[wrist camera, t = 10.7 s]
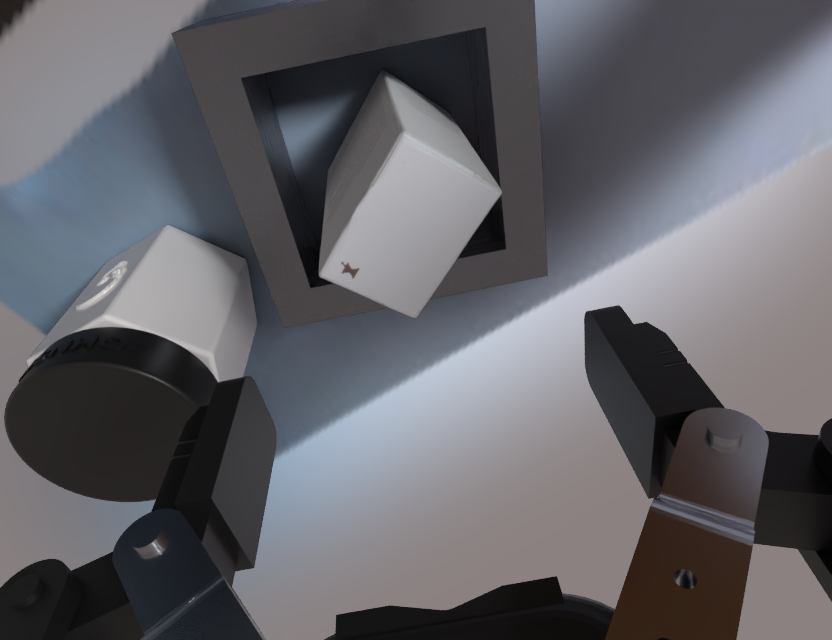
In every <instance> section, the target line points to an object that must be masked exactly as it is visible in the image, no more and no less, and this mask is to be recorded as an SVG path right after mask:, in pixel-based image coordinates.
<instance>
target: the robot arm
mask: <svg viewBox="0 0 832 640" xmlns="http://www.w3.org/2000/svg"><path fill="white" fill-rule="evenodd" d="M584 324H585V367H586V373H587V377H588V381H589V384H590V386H591V388H592V390H593V392H594V394H595V396H596V398H597V400H598V402H599V404H600V406H601V408H602V410H603V412H604V413H605V415H606V417H607V419H608V421H609V423H610V425H611V427H612V429H613V431H614V433H615V435H616V437H617V439H618V441H619V443H620V444H621V446H622V448H623V450H624V452H625V454H626V456H627V458H628V460H629V462H630V464H631V466H632V467H633V470H634V471H635V473H636V475H637V477H638V479H639V481H640V483H641V485H642V487H643V488H644V491H645V493H646V495H647V497H648V498H654V499H653V501H652V504H651V506H650V509H649V512H648V515H647V518H646V520H645V524H644V527H643V529H642V532H641V535H640V538H639V541H638V544H637V547H636V550H635V553H634V556H633V559H632V562H631V565H630V567H629V571H628V573H627V576H626V579H625V582H624V585H623V588H622V591H621V594H620V597H619V600H618V603H617V606H616V609H614V608H611V607H609V606H607V605H605V604H603V603H601V602H598V601H595V600H592V599H589V598H586V597H581V596H576V595H571V594H562V592H561V589H560V585H559V582H558V579H557V577H550V578H545V579H538V580H533V581H527V582H521V583H516V584H510V585H505V586H501V587H499V588H496V589H494V590H492V591H490V592H488V593H485V594H484V595H481V596H479V597H477V598H475V599H473V600H470V601H468V602H466V603H464V604H462V605H459V606H457V607H455V608H453V609H450V610H432V609H421V608H411V607H400V606H399V607H398V606H385V607H379V608H373V609H367V610H363V611H356V612H350V613H345V614H339V615H336V633H335V634H334V635H332V636H330V637H328V638H326V639H325V640H736V638H737V632H738V627H739V621H740V615H741V610H742V604H743V598H744V592H745V587H746V581H747V576H748V570H749V564H750V559H751V553H752V547H753V543H754V544H762V545H770V546H778V547H787V548H796V549H798V550H799V552H800V553H801V555H802V556H803V558H804V560H805V561H806V563H807V564H808V566H809V567H810V569H811V570H812V572H813V573H814V575H815V576H816V578H817V580H818V581H819V583H820V584H821V586H822V587H823V589H824V590H825V592H826V593H827V595H828V596H829V598H830V599H831V601H832V419H830V420H828V421H827V422H826V423H825V424H824V425H823V426H822V428H821V431H820V434H819V435H805V434H791V433H778V432H770V431H765V430H764V429H763V428H762V426H760V424H759V423H757V422H756V421H755V420H753V419H752V418H750V417H749V416H747V415H745V414H743V413H740V412H738V411H735V410H731V409H726V408H724V406H723V405H722V404H721V403H720V401H719V400H718V399H717V398H716V396H715V395H714V394H713V392H712V391H711V390H710V389H709V387H708V386H707V385H706V384H705V382H704V381H703V380H702V378H701V377H700V376H699V375H698V373H697V372H696V371H695V370H694V368H693V367H692V366H691V365H690V364H688V363H687V360H686V358H685V357H684V356H683V354H682V353H681V352H680V351H678V348H677V347H676V346H675V344H674V343H673V342H672V340H671V339H670V338H669V337H668V335H667V334H666V333H664V332H663V331H661V330H659V329H658V328H656V327H654V326H652V325H651V324H649V323H647V322H644V323H639V324H633V323H632V321H631V320H630V318H629V317H628V316H627V314H626V313H625V312H624V310H623V309H622V308H621V307H620V306H613V307H607V308H603V309H598V310H593V311H587V312H586V313H585V319H584ZM178 442H179V445H177V447H176V449H175V452H174V454H173V460H171V462H170V465H169V467H168V470H167V473H166V475H165V478H164V480H163V483H162V486H161V488H160V491H159V493H158V496H157V499H156V501H155V504H154V506H153V509H152V512H150V513H148V514H146V515H144V516H142V517H141V518H139V519H138V520H136V521H135V522H134V523H132V524H131V525H130V526H129V527H128V528H127V529H126V530H125V531H124V532H123V534H122V535H121V536H120V538H119V540H118V541H117V543H116V545H115V547H114V550H113V552H111V553H109V554H107V555H105V556H103V557H101V558H98V559H96V560H94V561H92V562H90V563H88V564H85V565H83V566H81V567H79V568H77V569H74V570H72V571H71V570H70V569H69V568H68V567H67V566H66V565H65V564H64V563H63V562H62V561H60V560H56V559H47V560H42V561H39V562H36V563H33V564H31V565H29V566H27V567H26V568H24V569H22V570H21V571H19V572H18V573H16V574H15V575H14V576H13V577H11V578H10V579H9V580H8V581H7V582H6V583H5V584H4V585H3V586H2V587H1V588H0V640H266V639H265V637H264V636H263V634H262V633H261V631H260V629H259V628H258V626H257V625H256V623H255V622H254V620H253V619H252V617H251V616H250V614H249V613H248V611H247V610H246V608H245V606H244V605H243V603H242V602H241V600H240V599H239V597H238V596H237V594H236V592H235V591H234V589H233V588H232V584H233V579H234V574H235V571H240V570H245V569H251V568H254V565H255V559H256V553H257V548H258V543H259V537H260V532H261V527H262V521H263V516H264V510H265V505H266V499H267V494H268V488H269V483H270V477H271V472H272V466H273V461H274V455H275V450H276V431H275V426H274V423H273V420H272V418H271V416H270V414H269V411H268V409H267V407H266V405H265V403H264V400H263V398H262V396H261V394H260V392H259V390H258V387H257V385H256V383H255V381H254V380H253V378H252V377H250V376H246V377H241V378H236V379H231V380H226V381H220V382H218V383H217V384H216V386H215V389H214V392H213V394H212V397H211V400H210V403H209V405H207V406H201V407H199V408H198V409H197V411H196V412H195V413H194V414H193V415H192V417H191V418H190V419H189V420H188V421H187V422H186V424H185V426H184V428H183V431H182V434H181V436H180V439H179V441H178ZM657 497H658V498H657Z"/></svg>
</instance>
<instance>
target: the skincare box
mask: <svg viewBox="0 0 832 640" xmlns="http://www.w3.org/2000/svg"><path fill="white" fill-rule="evenodd" d="M501 194H502V191H501V189H500V187H499V186H498V184H497V182H496V181H495V180H494V178H493V177H492V175H491V174H490V172H489V171H488V169H487V168H486V166H485V165H484V163H483V162H482V160H481V159H480V157H479V156H478V155H477V153H476V152H475V150H474V149H473V147H472V146H471V144H470V143H469V141H468V140H467V138H466V137H465V135H464V134H463V132H462V131H461V129H460V128H459V126H458V125H457V123H456V122H455V120H454V119H453V117H452V116H451V114H450V113H449V112H448V111H446V110H445V109H443V108H442V107H440V106H439V105H437V104H435V103H434V102H432V101H431V100H429V99H428V98H426V97H425V96H423V95H422V94H420V93H419V92H417V91H416V90H414V89H413V88H411V87H410V86H408V85H407V84H405V83H404V82H402V81H401V80H399V79H397V78H396V77H394V76H393V75H391V74H390V73H388V72H387V71H384V70H382V71H380V73H379V75H378V77H377V79H376V80H375V82H374V84H373V86H372V88H371V90H370V92H369V94H368V95H367V97H366V99H365V101H364V103H363V105H362V107H361V109H360V111H359V113H358V114H357V116H356V118H355V120H354V122H353V124H352V126H351V128H350V130H349V131H348V133H347V135H346V137H345V139H344V141H343V143H342V145H341V147H340V149H339V150H338V152H337V154H336V156H335V158H334V160H333V162H332V164H331V166H330V167H329V169H328V176H327V186H326V197H325V209H324V220H323V229H322V240H321V249H320V259H319V277H320V278H323V279H325V280H327V281H330V282H332V283H334V284H337V285H339V286H341V287H344V288H346V289H348V290H351V291H353V292H355V293H358V294H360V295H362V296H365V297H367V298H369V299H371V300H373V301H376V302H378V303H380V304H382V305H384V306H386V307H389V308H391V309H393V310H395V311H398V312H400V313H402V314H405V315H407V316H409V317H412V318H416V317H417V316H418V315H419V313H420V312H421V310H422V309H423V307H424V306H425V305H426V303H427V302H428V300H429V299H430V297H431V296H432V294H433V293H434V292H435V290H436V289H437V287H438V286H439V284H440V283H441V281H442V280H443V279H444V277H445V276H446V274H447V273H448V271H449V270H450V268H451V267H452V265H453V264H454V262H455V261H456V259H457V258H458V256H459V255H460V253H461V252H462V250H463V249H464V247H465V246H466V244H467V243H468V241H469V240H470V238H471V237H472V235H473V234H474V232H475V231H476V230H477V228H478V227H479V225H480V224H481V222H482V221H483V219H484V218H485V217H486V215H487V214H488V212H489V211H490V209H491V208H492V206H493V205H494V203H495V202H496V201H497V199H498V198H499V197H500V196H501Z"/></svg>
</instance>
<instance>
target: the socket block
mask: <svg viewBox="0 0 832 640" xmlns="http://www.w3.org/2000/svg"><path fill="white" fill-rule="evenodd" d="M463 31H467V38H468V47H469V56H470V65H471V74H472V83H473V92H474V102H475V111H476V120H477V129H478V138H479V147H480V156H481V160H482V162H483V163H484V165H485V166H486V168H487V169H488V171H489V172H490V174H491V175H492V177H493V178H494V180H495V181H496V182H497V184H498V186H499V187H500V189H501V191H502V194H501V196H500V197H499V198H498V199H497V201H496V202H495V203H494V205H493V206H492V208H491V209H490V211H489V212H488V214H487V215H486V217H485V218H484V219H483V221H482V222H481V224H480V225H479V227H478V228H477V230H476V231H475V232H474V234H473V235H472V237H471V238H470V240H469V241H468V243H467V244H466V246H465V247H464V249H463V250H462V252H461V253H460V255H459V256H458V258H457V259H456V261H455V262H454V264H453V265H452V267H451V268H450V270H449V271H448V273H447V274H446V276H445V277H444V279H443V280H442V281H441V283H440V284H439V286H438V287H437V289H436V290H435V292H434V293H433V294H432V296H431V297H430V299H433V298H438V297H443V296H448V295H453V294H458V293H463V292H468V291H473V290H478V289H483V288H488V287H493V286H498V285H503V284H508V283H513V282H518V281H523V280H528V279H533V278H538V277H543V276H547V255H546V234H545V213H544V192H543V171H542V150H541V128H540V107H539V86H538V65H537V44H536V22H535V1H534V0H296V1H292V2H287V3H282V4H278V5H273V6H268V7H263V8H259V9H254V10H249V11H245V12H240V13H235V14H230V15H226V16H221V17H216V18H211V19H207V20H202V21H200V22H197V23H195V24H193V25H190V26H188V27H185V28H183V29H181V30H178V31H176V32H174V33H172V36H173V39H174V41H175V44H176V47H177V49H178V52H179V55H180V57H181V60H182V62H183V65H184V68H185V70H186V73H187V75H188V78H189V81H190V83H191V86H192V89H193V91H194V94H195V96H196V99H197V102H198V104H199V107H200V110H201V112H202V115H203V117H204V120H205V123H206V125H207V128H208V131H209V133H210V136H211V138H212V141H213V144H214V146H215V149H216V152H217V154H218V157H219V159H220V162H221V165H222V167H223V170H224V173H225V175H226V178H227V180H228V183H229V186H230V188H231V191H232V194H233V196H234V199H235V201H236V204H237V207H238V209H239V212H240V215H241V217H242V220H243V222H244V225H245V228H246V230H247V233H248V236H249V238H250V241H251V243H252V246H253V249H254V251H255V254H256V257H257V259H258V262H259V264H260V267H261V270H262V272H263V275H264V278H265V280H266V283H267V285H268V288H269V291H270V293H271V296H272V298H273V301H274V304H275V306H276V309H277V312H278V314H279V317H280V319H281V322H282V325H283V327H284V328H287V327H292V326H297V325H302V324H307V323H312V322H317V321H322V320H327V319H332V318H337V317H342V316H347V315H352V314H357V313H362V312H367V311H372V310H377V309H382V308H387V307H386V306H384V305H382V304H380V303H378V302H376V301H373V300H371V299H369V298H367V297H365V296H362V295H360V294H358V293H355V292H353V291H351V290H348V289H346V288H344V287H341V286H339V285H337V284H334V283H332V282H330V281H327V280H325V279H323V278H320V277H319V259H320V249H321V244H319V245H316V242H315V239H314V236H313V232H312V229H311V226H310V223H309V220H308V216H307V213H306V210H305V207H304V203H303V200H302V197H301V194H300V190H299V187H298V184H297V181H296V177H295V174H294V171H293V168H292V164H291V161H290V158H289V155H288V151H287V148H286V145H285V142H284V138H283V135H282V132H281V129H280V125H279V122H278V119H277V116H276V112H275V109H274V106H273V103H272V99H271V96H270V93H269V90H268V86H267V83H266V80H265V77H264V73H267V72H272V71H277V70H282V69H286V68H291V67H296V66H301V65H306V64H310V63H315V62H320V61H325V60H330V59H334V58H339V57H344V56H349V55H353V54H358V53H363V52H368V51H373V50H377V49H382V48H387V47H392V46H396V45H401V44H406V43H411V42H416V41H420V40H425V39H430V38H435V37H440V36H444V35H449V34H454V33H459V32H463Z"/></svg>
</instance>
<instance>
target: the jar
mask: <svg viewBox="0 0 832 640" xmlns="http://www.w3.org/2000/svg"><path fill="white" fill-rule="evenodd" d="M256 327H257V318H256V312H255V306H254V300H253V294H252V288H251V283H250V277H249V271H248V265H247V261H246V259H244V258H242V257H240V256H238V255H236V254H233V253H231V252H229V251H226V250H224V249H222V248H220V247H217V246H215V245H213V244H211V243H208V242H206V241H204V240H202V239H199V238H197V237H195V236H193V235H190V234H188V233H186V232H184V231H181V230H179V229H177V228H175V227H172V226H169V225H166V226H164V227H163V228H161V229H159V230H158V231H156V232H155V233H153V234H151V235H150V236H148V237H147V238H145V239H143V240H142V241H140V242H138V243H137V244H135V245H134V246H132V247H130V248H129V249H127V250H126V251H124V252H122V253H121V254H119V255H117V256H116V257H114V258H113V259H111V260H109V261H108V262H106V263H105V264H104V266H103V267H102V268H101V269H100V271H99V272H98V273H97V274H96V275H95V277H94V278H93V279H92V280H91V282H90V283H89V284H88V285H87V287H86V288H85V289H84V290H83V291H82V293H81V294H80V295H79V296H78V298H77V299H76V300H75V301H74V303H73V304H72V305H71V306H70V307H69V309H68V310H67V311H66V312H65V314H64V315H63V316H62V317H61V319H60V320H59V321H58V322H57V323H56V325H55V326H54V327H53V328H52V330H51V331H50V332H49V333H48V335H47V336H46V337H45V338H44V339H43V341H42V342H41V343H40V344H39V346H38V347H37V348H36V349H35V350H34V352H33V353H32V354H31V355H30V357H29V358H28V359H27V361H26V363H27V366H28V369H27V370H26V371H25V373H24V374H23V376H22V377H21V378H20V379H19V384H18V385H17V386H16V388H15V389H14V391H13V392H12V394H11V395H10V397H9V399H8V402H7V404H6V408H5V416H4V419H5V427H6V432H7V435H8V438H9V440H10V442H11V444H12V446H13V448H14V449H15V451H16V452H17V454H18V455H19V456H20V457H21V458H22V460H23V461H24V462H25V463H26V464H27V465H28V466H29V467H31V468H32V469H33V470H34V471H35V472H37V473H38V474H39V475H41V476H42V477H44V478H46V479H47V480H49V481H50V482H52V483H54V484H56V485H58V486H60V487H62V488H64V489H66V490H69V491H72V492H74V493H77V494H80V495H83V496H87V497H91V498H95V499H101V500H107V501H117V502H141V501H150V500H155V499H157V496H158V493H159V491H160V488H161V486H162V483H163V480H164V478H165V475H166V473H167V470H168V467H169V465H170V462H171V460H173V454H174V452H175V449H176V447H177V445H179V442H178V441H179V439H180V436H181V434H182V431H183V428H184V426H185V424H186V422H187V421H188V420H189V419H190V418H191V417H192V415H193V414H194V413H195V412H196V411H197V409H198V408H199V407H201V406H207V405H209V403H210V400H211V397H212V394H213V392H214V389H215V386H216V384H217V383H218V382H220V381H226V380H231V379H236V378H241V377H243V376H244V372H245V368H246V365H247V361H248V357H249V353H250V350H251V346H252V342H253V338H254V335H255V331H256Z"/></svg>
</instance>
